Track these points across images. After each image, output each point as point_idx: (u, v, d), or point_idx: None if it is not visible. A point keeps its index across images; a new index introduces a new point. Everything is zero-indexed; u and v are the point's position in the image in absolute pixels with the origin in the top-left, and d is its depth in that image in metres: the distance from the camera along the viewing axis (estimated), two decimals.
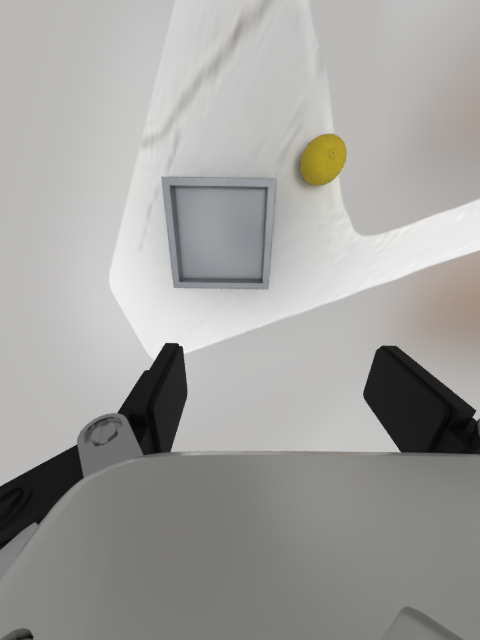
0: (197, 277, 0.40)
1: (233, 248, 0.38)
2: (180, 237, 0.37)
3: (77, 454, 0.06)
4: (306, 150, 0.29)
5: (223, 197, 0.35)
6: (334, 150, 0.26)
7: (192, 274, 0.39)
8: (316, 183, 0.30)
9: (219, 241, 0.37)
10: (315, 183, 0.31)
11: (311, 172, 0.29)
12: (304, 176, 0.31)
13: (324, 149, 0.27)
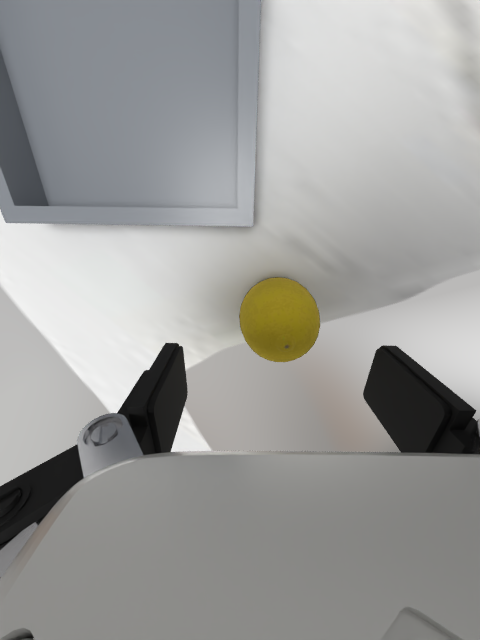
0: None
1: (103, 120, 0.14)
2: None
3: (77, 454, 0.06)
4: (297, 288, 0.14)
5: (220, 88, 0.13)
6: (290, 347, 0.12)
7: None
8: (241, 313, 0.15)
9: (111, 69, 0.13)
10: (241, 311, 0.15)
11: (258, 304, 0.13)
12: (254, 288, 0.15)
13: (295, 327, 0.13)
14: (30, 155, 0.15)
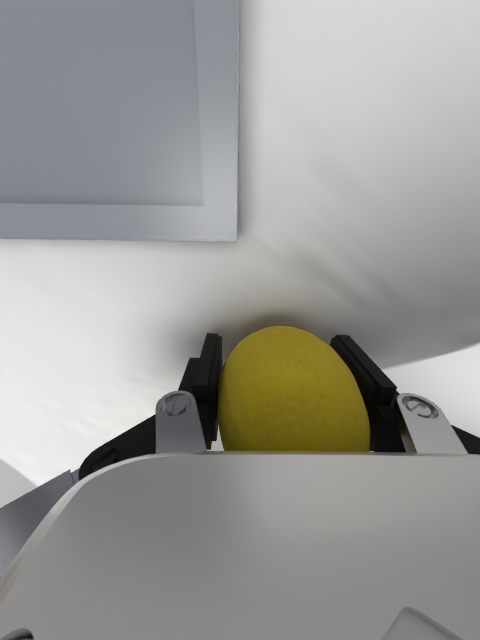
0: None
1: None
2: None
3: (154, 424, 0.07)
4: (325, 361, 0.07)
5: None
6: None
7: None
8: (218, 399, 0.08)
9: None
10: (218, 395, 0.08)
11: (249, 402, 0.07)
12: (242, 353, 0.08)
13: None
14: None
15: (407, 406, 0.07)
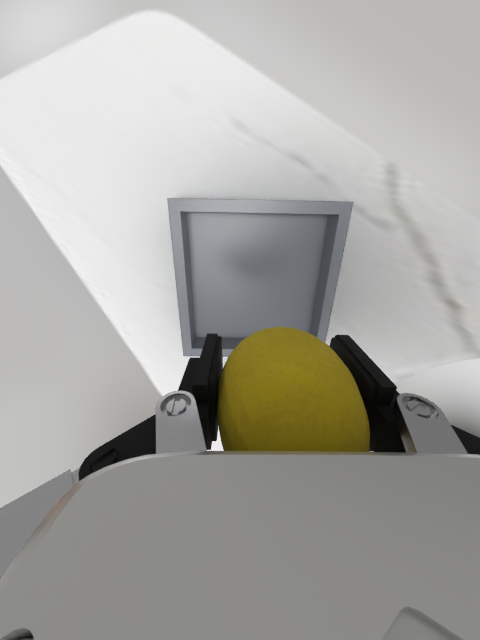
0: (190, 240, 0.23)
1: (238, 299, 0.26)
2: (256, 215, 0.22)
3: (154, 424, 0.07)
4: (325, 362, 0.07)
5: (305, 287, 0.25)
6: None
7: (195, 231, 0.23)
8: (218, 400, 0.08)
9: (249, 279, 0.25)
10: (218, 396, 0.08)
11: (249, 404, 0.07)
12: (242, 354, 0.08)
13: None
14: (193, 315, 0.26)
15: (407, 406, 0.07)
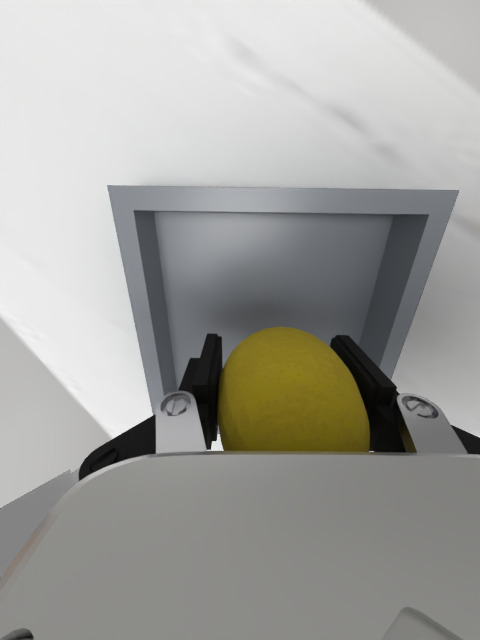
0: (162, 257, 0.14)
1: None
2: (272, 216, 0.13)
3: (154, 424, 0.07)
4: (325, 362, 0.07)
5: (346, 329, 0.16)
6: None
7: (169, 243, 0.14)
8: (218, 400, 0.08)
9: (257, 317, 0.16)
10: (218, 396, 0.08)
11: (249, 404, 0.07)
12: (242, 354, 0.08)
13: None
14: (173, 368, 0.17)
15: (407, 406, 0.07)
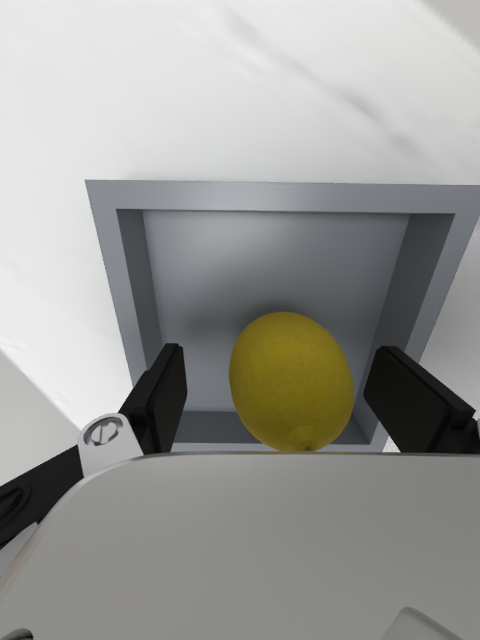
0: (153, 261, 0.13)
1: None
2: (274, 216, 0.12)
3: (77, 454, 0.06)
4: (319, 337, 0.09)
5: (355, 339, 0.15)
6: (314, 448, 0.07)
7: (160, 246, 0.12)
8: (230, 370, 0.10)
9: None
10: (230, 367, 0.10)
11: (257, 368, 0.08)
12: (250, 332, 0.10)
13: (321, 414, 0.07)
14: None
15: None
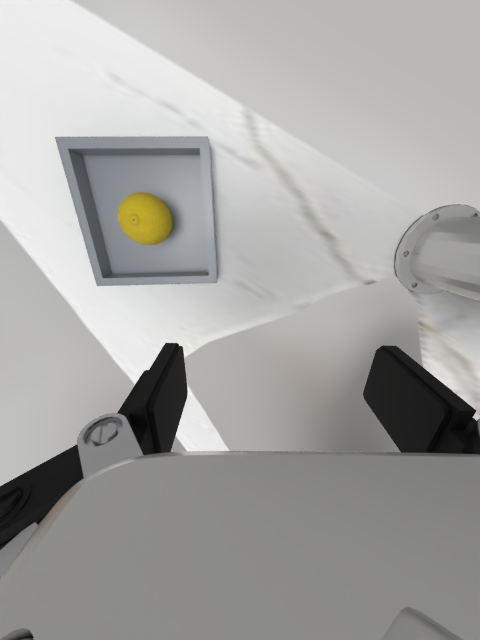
0: (90, 181, 0.27)
1: None
2: (142, 156, 0.27)
3: (77, 454, 0.06)
4: (148, 194, 0.24)
5: (197, 222, 0.30)
6: (136, 220, 0.22)
7: (93, 172, 0.27)
8: None
9: None
10: None
11: (121, 201, 0.23)
12: None
13: (138, 209, 0.22)
14: (105, 251, 0.30)
15: None
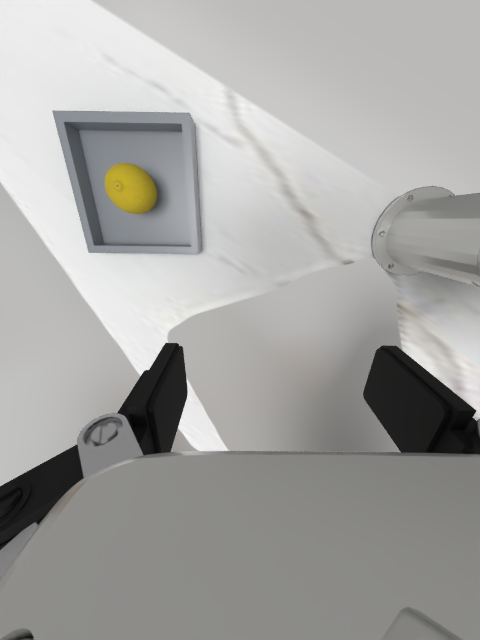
0: (85, 154, 0.30)
1: None
2: (132, 132, 0.29)
3: (77, 454, 0.06)
4: (133, 164, 0.26)
5: (182, 196, 0.32)
6: (119, 186, 0.25)
7: (87, 146, 0.30)
8: None
9: None
10: None
11: (108, 170, 0.26)
12: None
13: (122, 176, 0.25)
14: (98, 221, 0.33)
15: None
